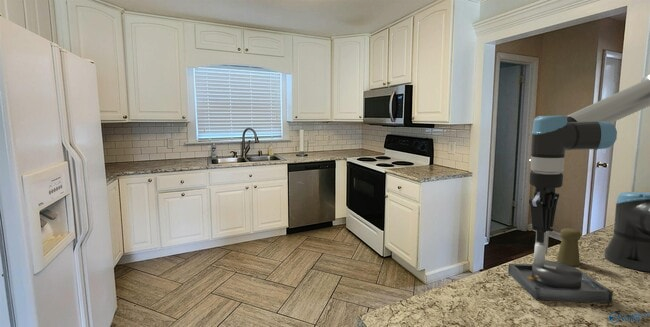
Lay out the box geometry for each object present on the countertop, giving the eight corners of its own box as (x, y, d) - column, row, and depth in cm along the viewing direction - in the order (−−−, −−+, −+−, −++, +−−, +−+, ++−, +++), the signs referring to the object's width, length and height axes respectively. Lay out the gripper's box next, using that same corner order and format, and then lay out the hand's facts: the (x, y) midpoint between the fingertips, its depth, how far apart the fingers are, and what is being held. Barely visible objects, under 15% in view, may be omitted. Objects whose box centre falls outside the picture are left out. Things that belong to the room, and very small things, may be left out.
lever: (580, 276, 88) (582, 246, 87) (582, 293, 79) (585, 260, 78) (533, 266, 94) (535, 238, 93) (530, 281, 86) (532, 250, 85)
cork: (584, 266, 99) (587, 233, 97) (562, 265, 100) (565, 232, 99) (573, 258, 105) (575, 226, 103) (553, 257, 106) (555, 226, 104)
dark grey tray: (571, 274, 93) (572, 265, 93) (611, 303, 79) (612, 291, 78) (508, 272, 95) (508, 263, 95) (536, 300, 80) (536, 289, 80)
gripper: (541, 167, 93) (536, 243, 96) (520, 172, 86) (516, 253, 89) (572, 170, 87) (565, 251, 90) (551, 176, 80) (545, 263, 83)
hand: (541, 252), depth 90 cm, fingers closed
